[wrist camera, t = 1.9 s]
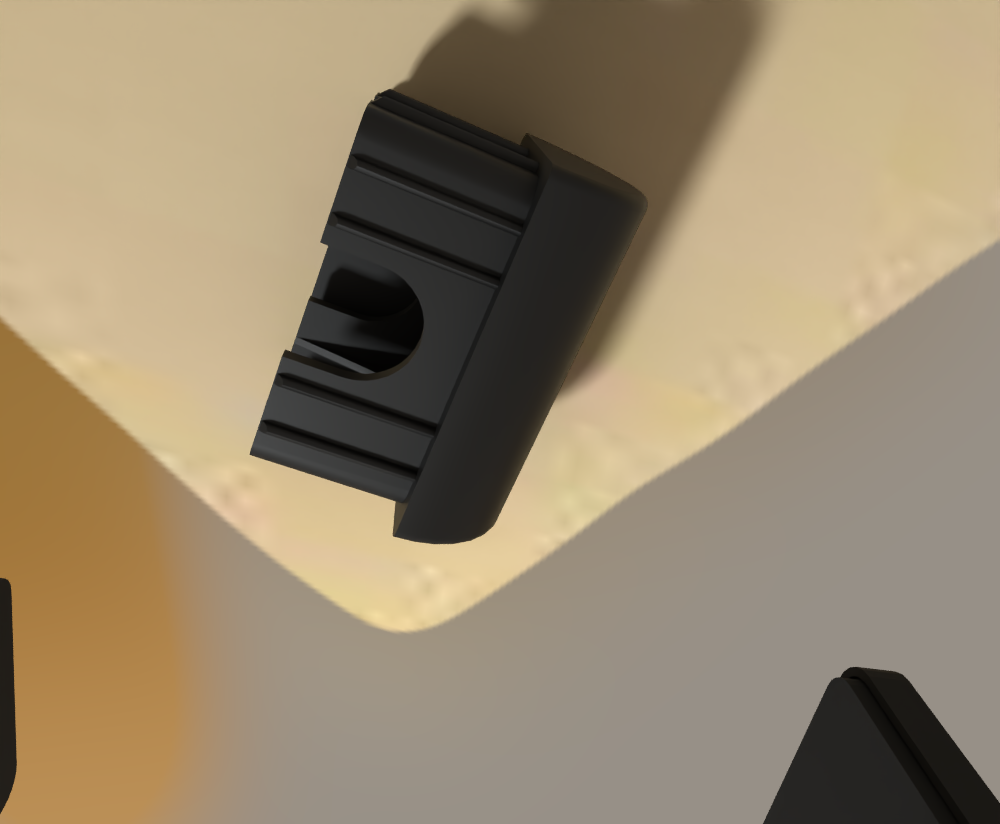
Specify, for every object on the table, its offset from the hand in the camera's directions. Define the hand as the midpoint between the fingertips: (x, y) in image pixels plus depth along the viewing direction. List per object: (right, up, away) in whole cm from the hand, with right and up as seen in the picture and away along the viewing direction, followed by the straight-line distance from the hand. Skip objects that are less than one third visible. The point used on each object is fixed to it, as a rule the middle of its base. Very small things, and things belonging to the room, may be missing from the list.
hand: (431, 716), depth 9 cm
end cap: (-1, +7, +16) cm, 18 cm away
